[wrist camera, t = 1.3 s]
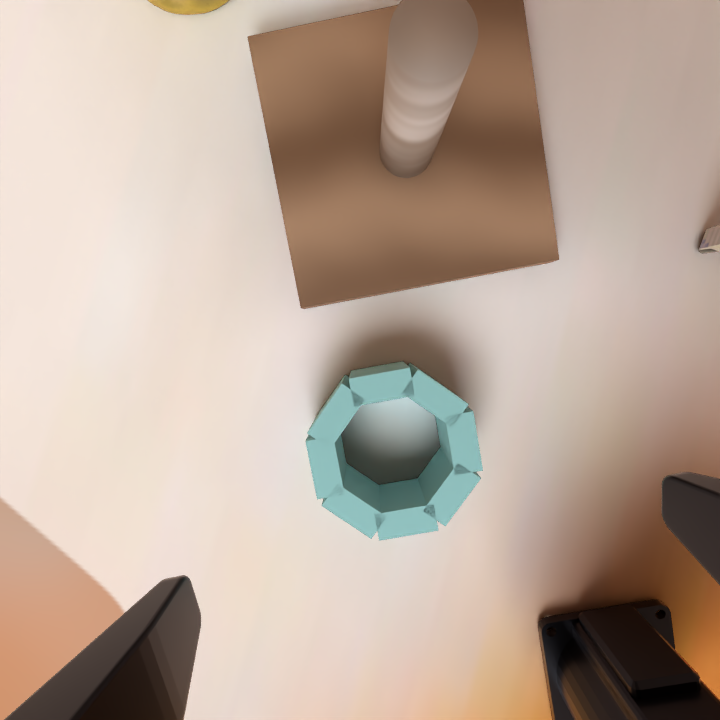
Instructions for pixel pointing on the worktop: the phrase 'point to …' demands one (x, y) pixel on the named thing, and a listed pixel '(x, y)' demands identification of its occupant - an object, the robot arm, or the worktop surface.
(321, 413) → the ring
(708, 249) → the caliper
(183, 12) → the vase
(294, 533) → the worktop surface
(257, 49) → the post stand
